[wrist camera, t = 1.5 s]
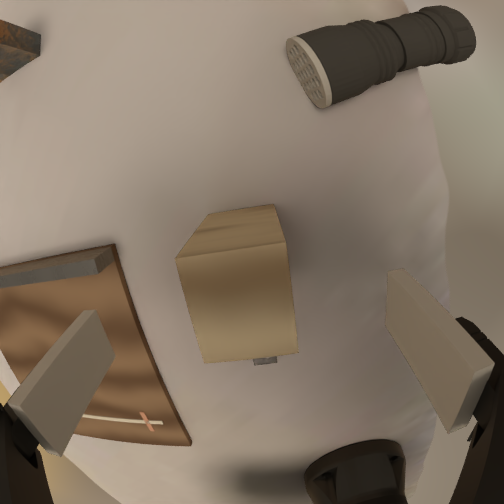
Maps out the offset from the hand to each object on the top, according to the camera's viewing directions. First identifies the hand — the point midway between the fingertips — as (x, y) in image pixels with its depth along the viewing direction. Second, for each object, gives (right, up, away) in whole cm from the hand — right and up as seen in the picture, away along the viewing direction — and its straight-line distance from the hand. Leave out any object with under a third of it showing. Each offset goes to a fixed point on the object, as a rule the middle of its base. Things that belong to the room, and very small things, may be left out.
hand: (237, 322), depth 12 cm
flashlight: (+11, +19, +6) cm, 22 cm away
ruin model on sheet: (-25, +22, +6) cm, 34 cm away
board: (-21, -10, +16) cm, 28 cm away
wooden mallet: (+1, 0, +12) cm, 12 cm away
